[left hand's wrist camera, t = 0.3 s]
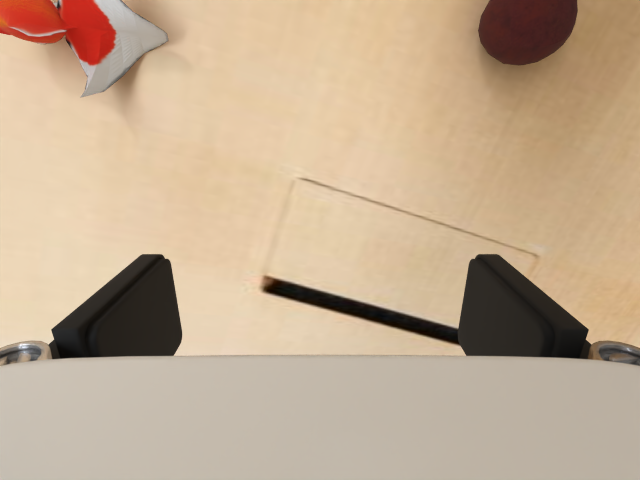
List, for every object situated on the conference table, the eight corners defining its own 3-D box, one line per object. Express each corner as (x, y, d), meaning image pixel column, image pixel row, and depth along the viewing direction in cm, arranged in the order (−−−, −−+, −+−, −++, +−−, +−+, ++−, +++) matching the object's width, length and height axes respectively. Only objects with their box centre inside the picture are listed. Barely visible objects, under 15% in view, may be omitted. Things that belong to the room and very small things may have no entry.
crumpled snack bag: (-31, -124, 28) (-94, -108, 21) (178, -17, 36) (177, 18, 29) (-20, 16, 34) (-66, 60, 28) (155, 80, 42) (151, 126, 36)
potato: (543, 62, 36) (592, 52, 30) (467, 74, 37) (499, 67, 30) (549, -22, 34) (604, -53, 27) (467, -9, 34) (502, -36, 28)
